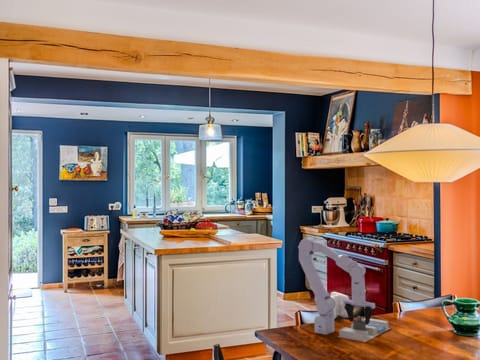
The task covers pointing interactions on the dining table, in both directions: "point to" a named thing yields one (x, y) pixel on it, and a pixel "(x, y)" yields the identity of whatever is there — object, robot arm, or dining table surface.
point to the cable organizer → (339, 304)
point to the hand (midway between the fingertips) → (359, 322)
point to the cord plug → (359, 324)
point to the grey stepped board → (371, 331)
